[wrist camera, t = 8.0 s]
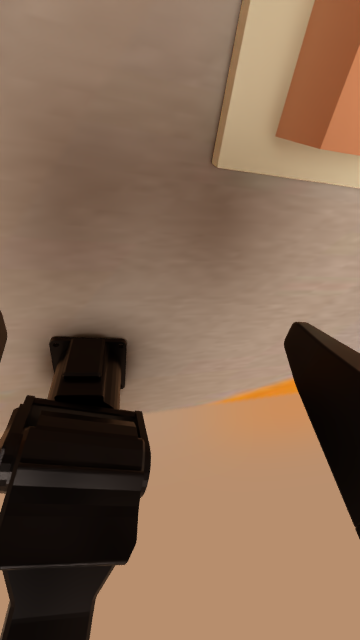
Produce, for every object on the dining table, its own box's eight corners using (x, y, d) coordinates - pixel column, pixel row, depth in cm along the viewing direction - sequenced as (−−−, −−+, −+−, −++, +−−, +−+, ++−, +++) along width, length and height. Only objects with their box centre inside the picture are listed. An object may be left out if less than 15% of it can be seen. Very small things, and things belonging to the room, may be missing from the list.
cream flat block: (374, 186, 20) (402, 197, 18) (211, 163, 18) (222, 171, 16) (483, -27, 14) (543, -48, 12) (261, -102, 12) (288, -144, 10)
